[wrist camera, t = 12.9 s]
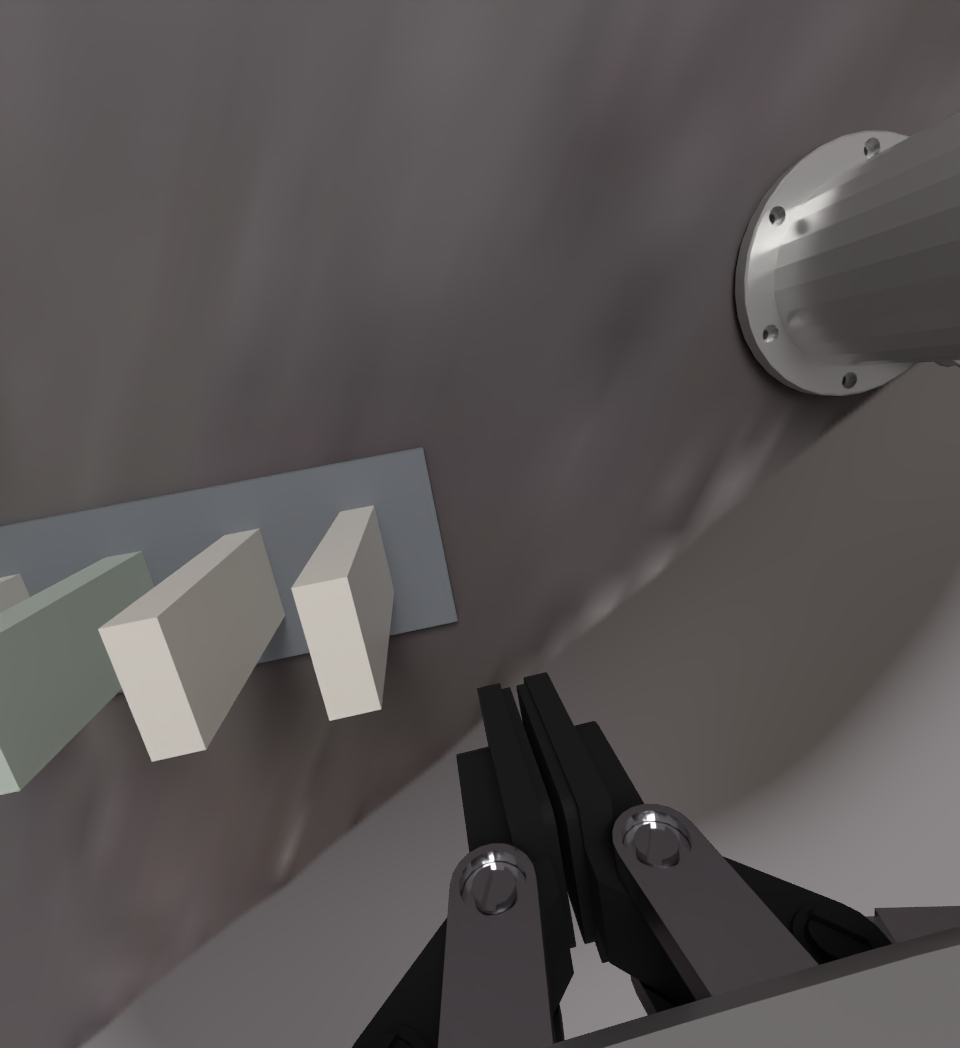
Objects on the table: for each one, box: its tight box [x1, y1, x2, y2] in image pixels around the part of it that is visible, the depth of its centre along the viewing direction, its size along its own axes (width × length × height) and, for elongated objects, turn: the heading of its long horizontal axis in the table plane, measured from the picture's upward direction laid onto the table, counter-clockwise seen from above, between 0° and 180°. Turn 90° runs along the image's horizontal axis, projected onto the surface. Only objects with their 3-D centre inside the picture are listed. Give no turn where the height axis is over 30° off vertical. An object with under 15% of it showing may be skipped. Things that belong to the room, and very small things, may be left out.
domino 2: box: [98, 529, 285, 762], centre depth 22 cm, size 2×5×11 cm, turn 10°
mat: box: [0, 447, 458, 693], centre depth 27 cm, size 32×10×1 cm, turn 100°
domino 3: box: [291, 505, 394, 721], centre depth 23 cm, size 2×5×11 cm, turn 10°
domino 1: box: [0, 551, 154, 795], centre depth 22 cm, size 2×5×11 cm, turn 9°
